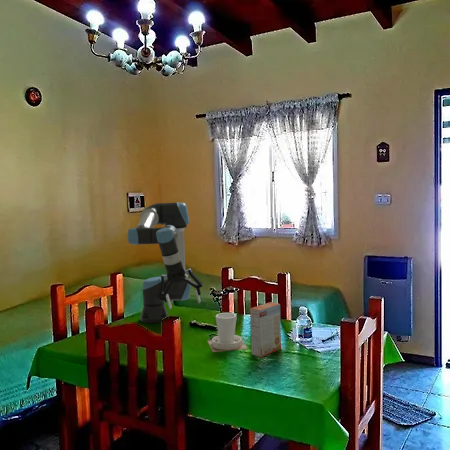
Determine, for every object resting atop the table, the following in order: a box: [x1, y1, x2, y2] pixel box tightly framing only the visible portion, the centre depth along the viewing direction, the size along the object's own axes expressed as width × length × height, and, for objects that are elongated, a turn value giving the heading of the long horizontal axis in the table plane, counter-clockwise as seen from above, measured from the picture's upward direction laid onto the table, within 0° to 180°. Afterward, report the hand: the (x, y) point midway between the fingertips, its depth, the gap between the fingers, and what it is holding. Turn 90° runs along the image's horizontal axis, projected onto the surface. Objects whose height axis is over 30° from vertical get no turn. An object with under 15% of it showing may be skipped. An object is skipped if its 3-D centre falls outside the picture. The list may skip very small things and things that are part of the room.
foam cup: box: [215, 312, 237, 344], centre depth 213 cm, size 10×9×13 cm
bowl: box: [211, 334, 243, 350], centre depth 214 cm, size 14×14×2 cm
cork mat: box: [206, 339, 249, 353], centre depth 214 cm, size 16×16×1 cm
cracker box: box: [249, 301, 282, 358], centre depth 203 cm, size 14×6×21 cm, turn 134°
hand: (185, 304), depth 212 cm, fingers open, 13 cm apart
